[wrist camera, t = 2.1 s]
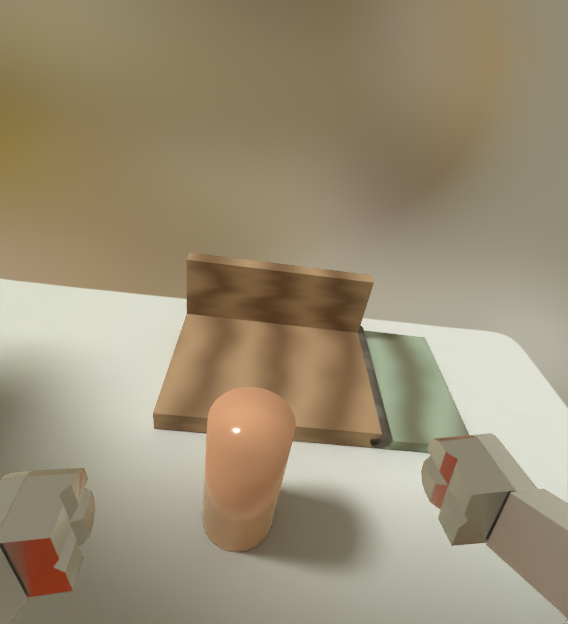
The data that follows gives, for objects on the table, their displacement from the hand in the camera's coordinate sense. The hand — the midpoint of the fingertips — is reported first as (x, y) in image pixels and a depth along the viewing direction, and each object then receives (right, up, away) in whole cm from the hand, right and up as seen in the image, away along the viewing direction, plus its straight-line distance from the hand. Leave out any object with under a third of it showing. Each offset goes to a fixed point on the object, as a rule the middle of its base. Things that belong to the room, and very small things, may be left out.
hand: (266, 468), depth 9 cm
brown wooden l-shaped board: (+3, -3, +33) cm, 33 cm away
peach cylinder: (-3, -11, +20) cm, 24 cm away
